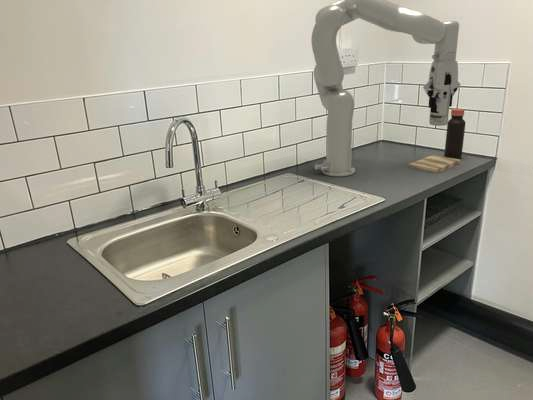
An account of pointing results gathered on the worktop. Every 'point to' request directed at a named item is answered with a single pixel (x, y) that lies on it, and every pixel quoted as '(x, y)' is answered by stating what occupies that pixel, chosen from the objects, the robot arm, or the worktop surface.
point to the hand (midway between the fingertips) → (440, 106)
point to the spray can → (441, 104)
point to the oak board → (434, 163)
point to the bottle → (455, 134)
